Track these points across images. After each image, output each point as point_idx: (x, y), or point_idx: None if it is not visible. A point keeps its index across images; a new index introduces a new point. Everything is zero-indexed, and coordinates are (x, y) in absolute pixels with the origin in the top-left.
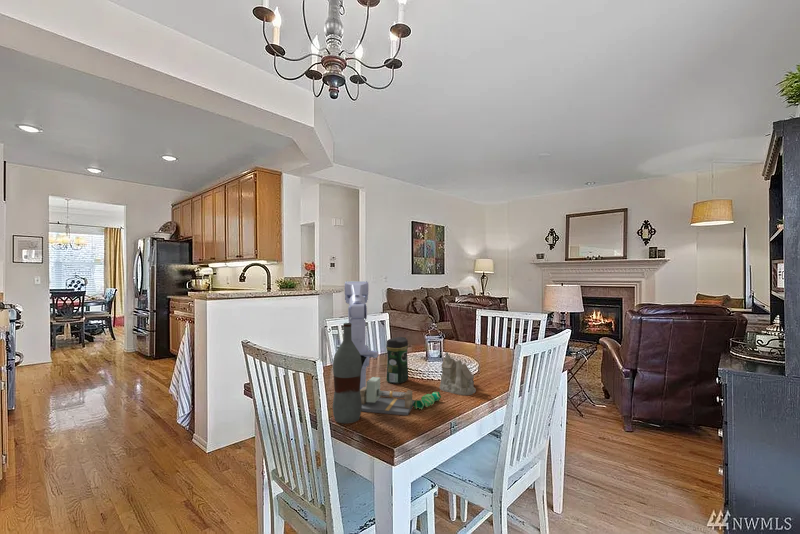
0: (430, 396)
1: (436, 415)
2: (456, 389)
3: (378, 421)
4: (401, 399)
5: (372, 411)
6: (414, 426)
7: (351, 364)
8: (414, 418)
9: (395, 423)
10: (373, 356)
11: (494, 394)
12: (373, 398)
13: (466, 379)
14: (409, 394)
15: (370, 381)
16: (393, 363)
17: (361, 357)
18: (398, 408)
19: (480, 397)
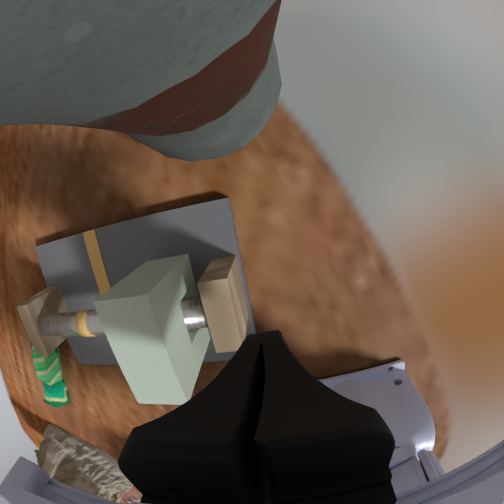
0: (35, 367)
1: (4, 280)
2: (61, 438)
3: (88, 144)
4: (114, 362)
5: (146, 215)
6: (7, 176)
7: None
8: (23, 232)
9: (43, 163)
10: (32, 474)
11: (26, 427)
12: (144, 265)
13: (38, 452)
14: (16, 306)
15: (128, 311)
16: None
17: (175, 501)
18: (70, 271)
19: (26, 412)
